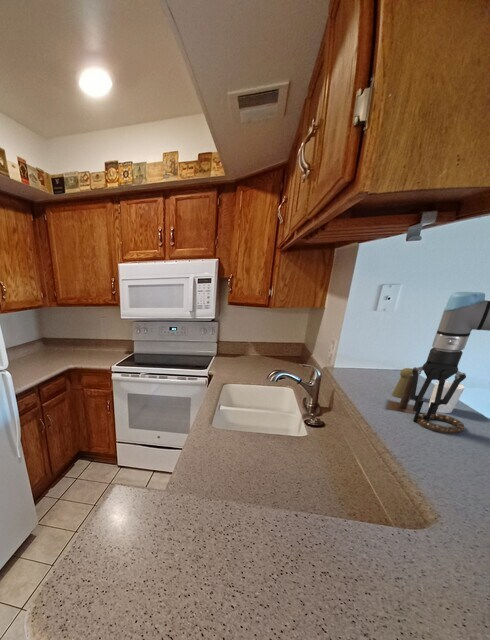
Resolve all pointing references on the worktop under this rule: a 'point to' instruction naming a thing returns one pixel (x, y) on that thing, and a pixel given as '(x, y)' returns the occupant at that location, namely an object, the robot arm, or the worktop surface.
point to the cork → (402, 383)
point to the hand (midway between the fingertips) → (420, 421)
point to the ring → (421, 420)
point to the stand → (404, 400)
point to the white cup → (452, 401)
